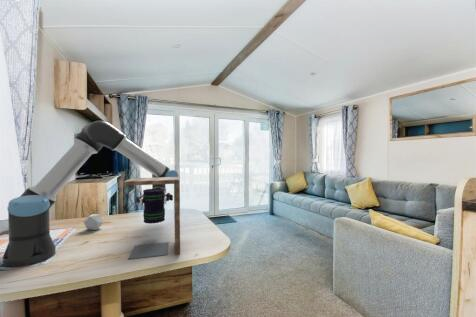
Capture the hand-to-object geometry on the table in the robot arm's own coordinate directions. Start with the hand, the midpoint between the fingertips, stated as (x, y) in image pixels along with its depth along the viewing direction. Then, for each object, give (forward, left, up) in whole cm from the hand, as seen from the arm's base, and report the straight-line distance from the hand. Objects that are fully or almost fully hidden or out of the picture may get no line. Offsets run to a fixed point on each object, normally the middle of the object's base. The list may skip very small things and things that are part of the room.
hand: (153, 201), depth 106 cm
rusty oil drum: (0, +4, -10) cm, 11 cm away
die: (-33, +25, -18) cm, 45 cm away
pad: (0, -13, -18) cm, 22 cm away
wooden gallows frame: (+2, -13, -18) cm, 22 cm away
